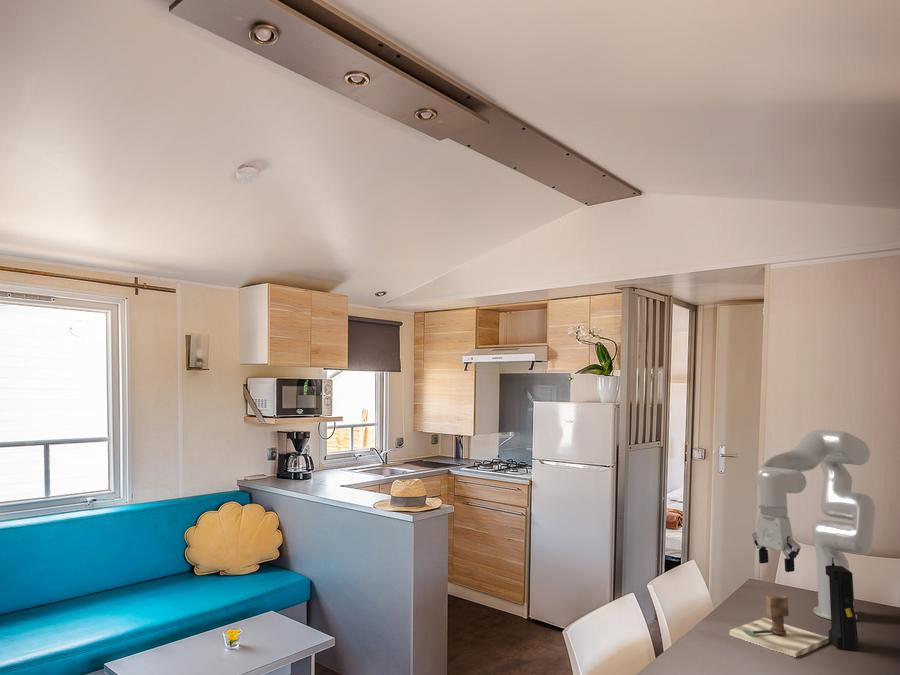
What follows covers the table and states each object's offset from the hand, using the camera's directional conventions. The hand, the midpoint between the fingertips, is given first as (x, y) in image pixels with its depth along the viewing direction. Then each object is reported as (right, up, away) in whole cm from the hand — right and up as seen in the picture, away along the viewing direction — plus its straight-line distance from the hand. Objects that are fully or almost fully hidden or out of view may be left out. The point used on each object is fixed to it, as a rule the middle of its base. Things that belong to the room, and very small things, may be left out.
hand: (776, 567), depth 192 cm
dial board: (-1, -21, -2) cm, 21 cm away
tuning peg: (-3, -19, -2) cm, 20 cm away
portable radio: (+16, -21, -8) cm, 28 cm away
